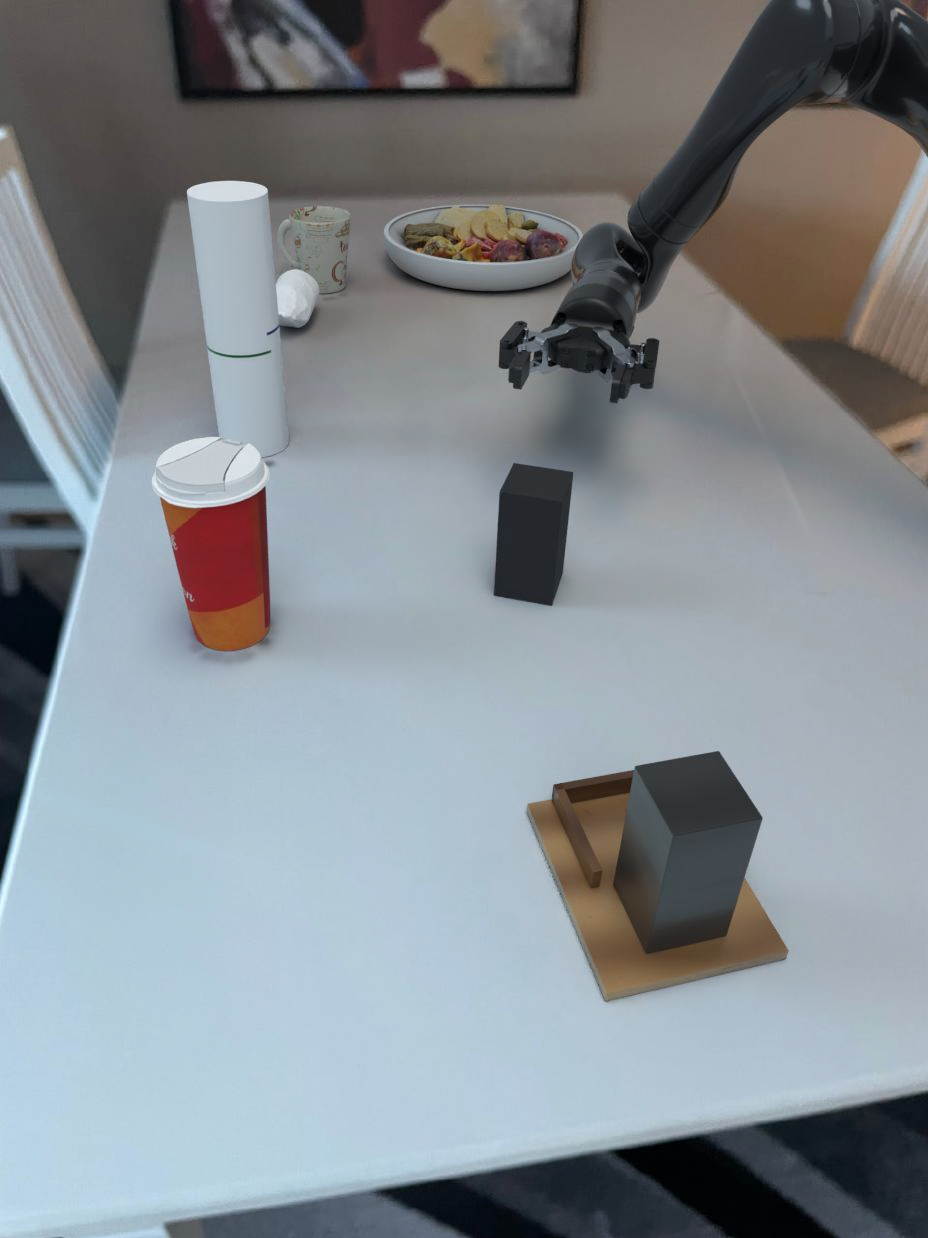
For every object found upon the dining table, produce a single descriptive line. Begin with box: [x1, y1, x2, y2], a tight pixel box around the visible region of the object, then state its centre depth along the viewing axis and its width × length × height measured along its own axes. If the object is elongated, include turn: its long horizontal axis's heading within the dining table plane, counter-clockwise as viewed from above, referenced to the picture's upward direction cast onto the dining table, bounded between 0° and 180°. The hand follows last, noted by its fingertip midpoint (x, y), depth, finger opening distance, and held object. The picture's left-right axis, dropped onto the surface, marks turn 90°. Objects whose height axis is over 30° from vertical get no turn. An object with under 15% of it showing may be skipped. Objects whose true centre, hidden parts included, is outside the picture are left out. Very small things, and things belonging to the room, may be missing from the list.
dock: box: [526, 750, 790, 1002], centre depth 58 cm, size 14×11×11 cm
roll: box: [276, 268, 320, 329], centre depth 130 cm, size 6×12×6 cm, turn 178°
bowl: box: [383, 203, 584, 292], centre depth 151 cm, size 30×30×8 cm
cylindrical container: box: [186, 180, 290, 458], centre depth 97 cm, size 7×7×25 cm
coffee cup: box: [151, 436, 271, 652], centre depth 75 cm, size 8×8×15 cm
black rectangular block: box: [493, 462, 574, 606], centre depth 82 cm, size 5×5×10 cm
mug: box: [276, 205, 351, 295], centre depth 141 cm, size 8×13×10 cm, turn 58°
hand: (565, 386), depth 86 cm, fingers open, 8 cm apart
